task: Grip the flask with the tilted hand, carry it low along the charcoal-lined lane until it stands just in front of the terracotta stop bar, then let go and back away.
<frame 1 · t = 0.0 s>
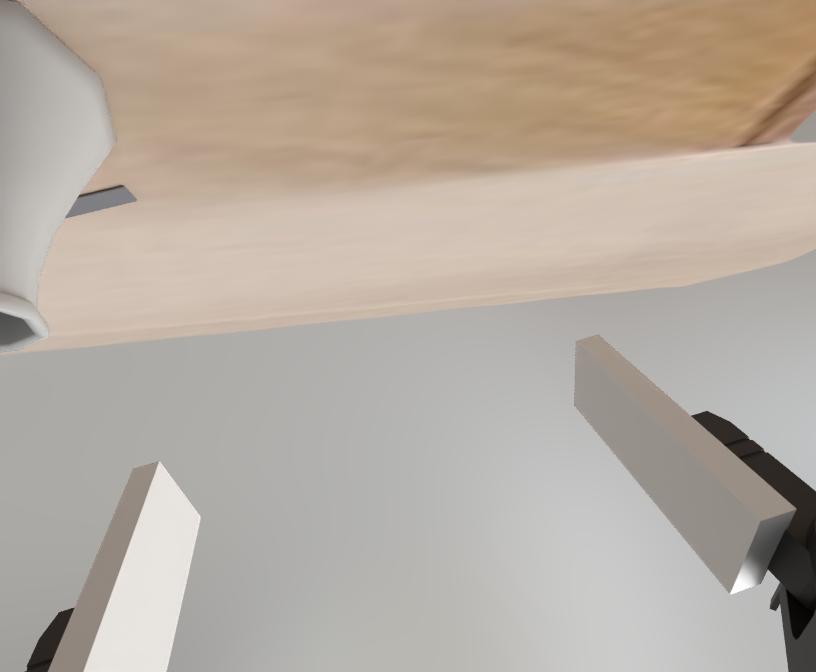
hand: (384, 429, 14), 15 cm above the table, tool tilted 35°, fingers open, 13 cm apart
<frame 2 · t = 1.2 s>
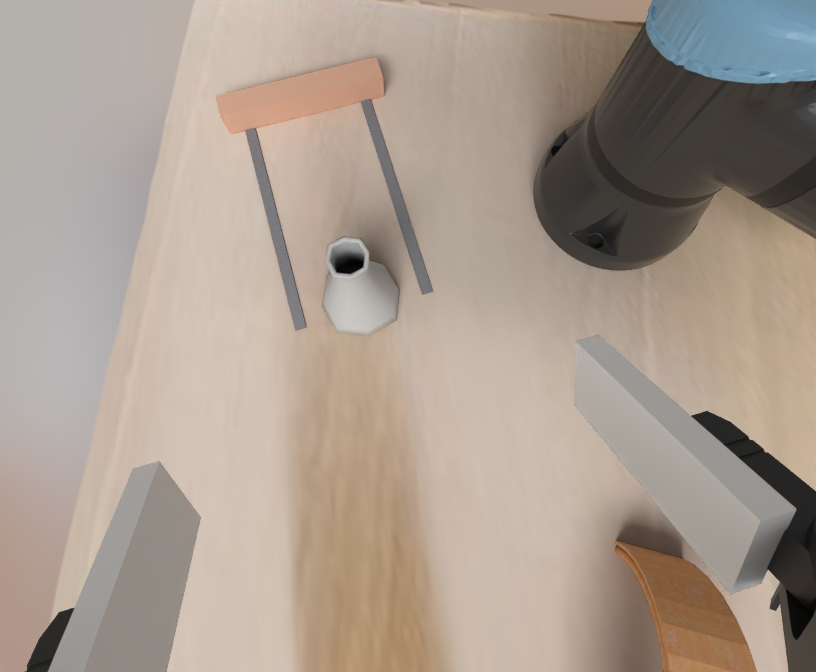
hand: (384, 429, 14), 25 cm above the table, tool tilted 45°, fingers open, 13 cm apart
flask: (361, 299, 41), on the table
stop bar lane: (334, 203, 42), on the table
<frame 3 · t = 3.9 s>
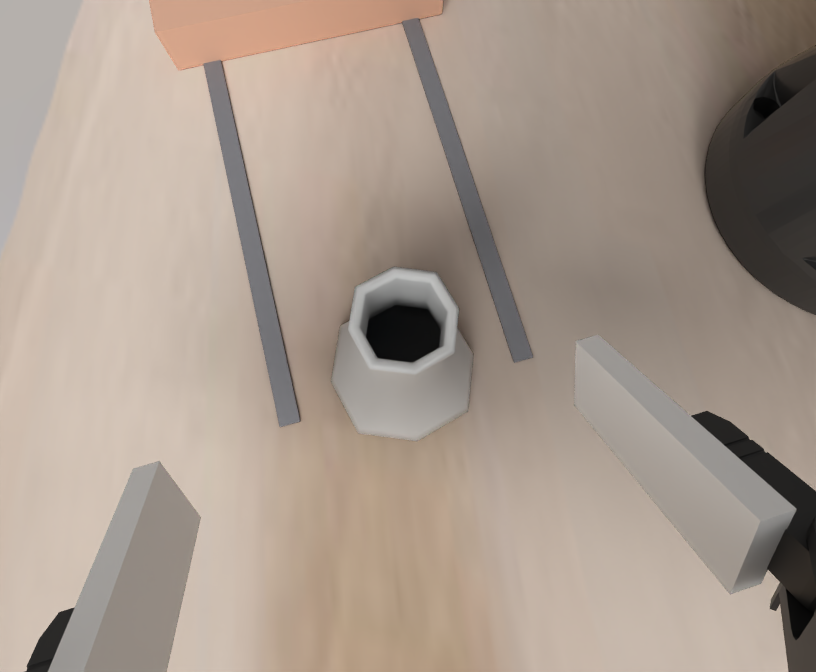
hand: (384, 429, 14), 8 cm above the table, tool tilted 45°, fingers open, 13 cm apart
flask: (402, 369, 22), on the table
stop bar lane: (354, 193, 24), on the table
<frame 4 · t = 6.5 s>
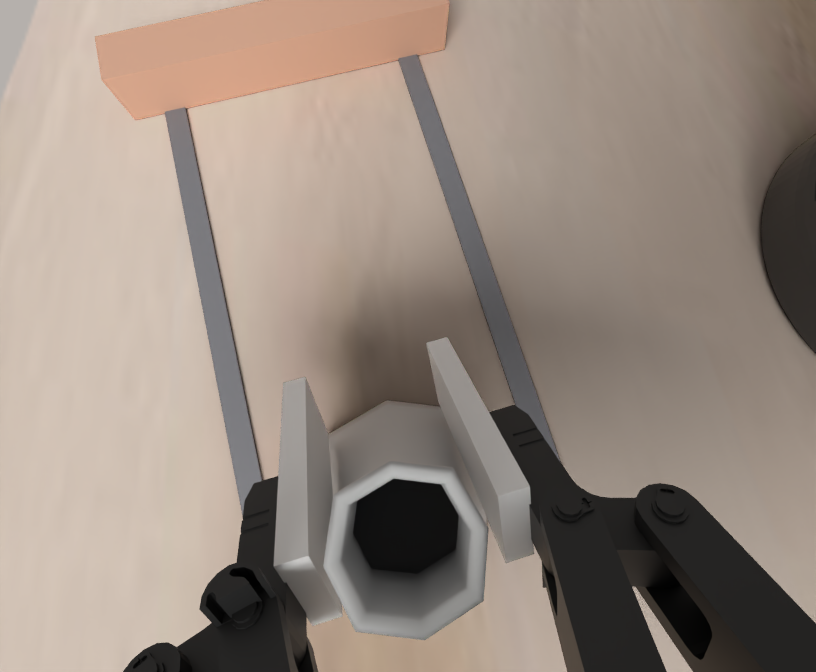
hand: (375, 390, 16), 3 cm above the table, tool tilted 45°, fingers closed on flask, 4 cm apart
flask: (404, 487, 18), on the table, touching gripper
stop bar lane: (344, 267, 20), on the table
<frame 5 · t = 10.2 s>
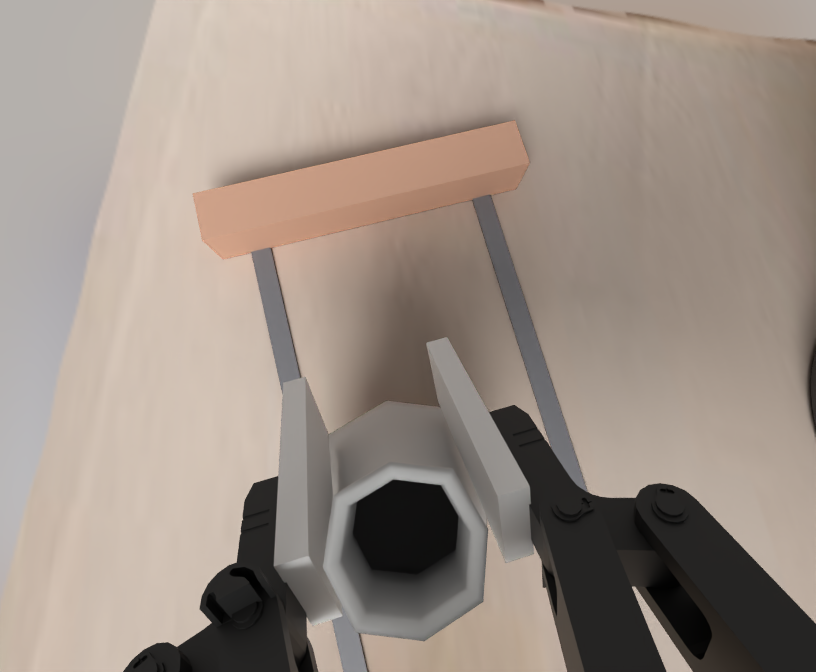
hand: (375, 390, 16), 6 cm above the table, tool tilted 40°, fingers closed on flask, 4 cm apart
flask: (404, 487, 18), point 3 cm above the table, touching gripper
stop bar lane: (425, 413, 22), on the table
when the fingers open (5 cm above the table, at t = 14.3 s): flask drops 1 cm, on the table.
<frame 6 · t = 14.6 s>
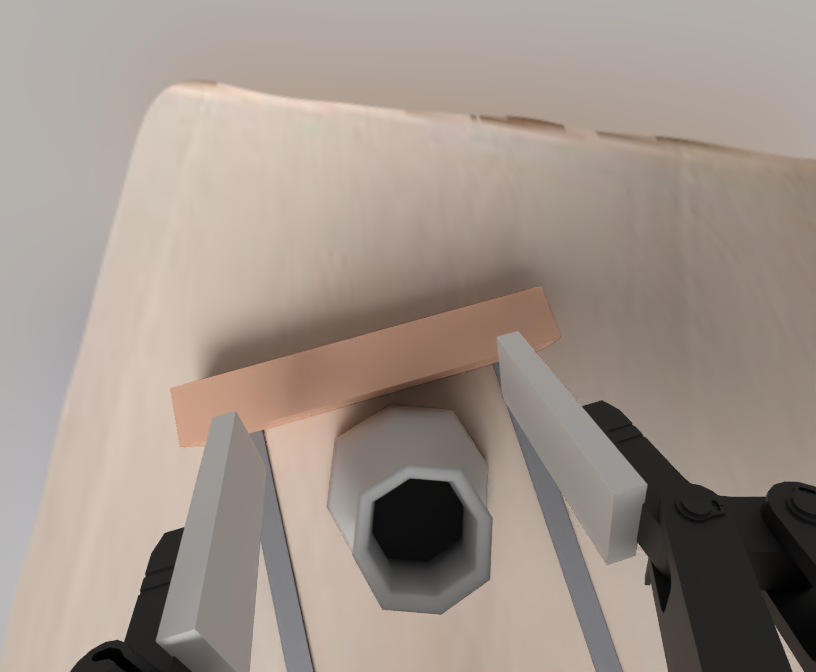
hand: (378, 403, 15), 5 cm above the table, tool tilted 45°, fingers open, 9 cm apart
flask: (408, 484, 20), on the table
stop bar lane: (446, 637, 18), on the table
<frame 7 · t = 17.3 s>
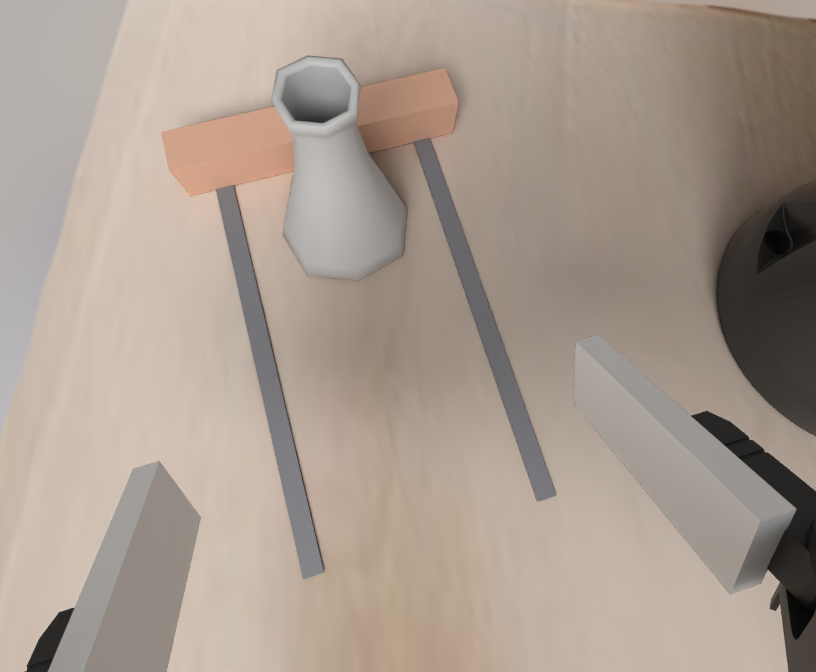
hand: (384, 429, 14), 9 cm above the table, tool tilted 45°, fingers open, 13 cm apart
flask: (346, 226, 26), on the table
stop bar lane: (371, 324, 24), on the table
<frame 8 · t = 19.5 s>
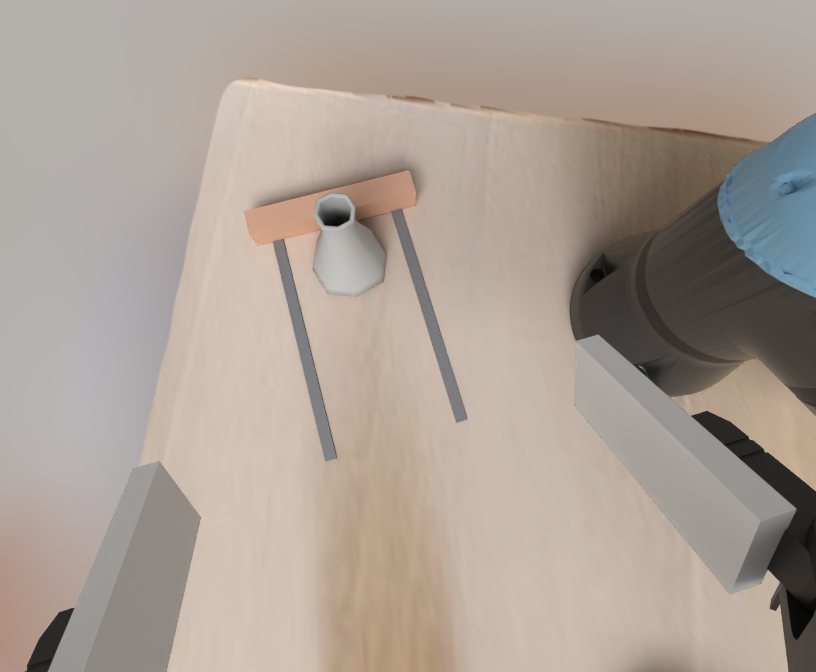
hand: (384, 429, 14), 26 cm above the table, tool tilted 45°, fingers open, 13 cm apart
flask: (350, 263, 43), on the table
stop bar lane: (364, 322, 41), on the table
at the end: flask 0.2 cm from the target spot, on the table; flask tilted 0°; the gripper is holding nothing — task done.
